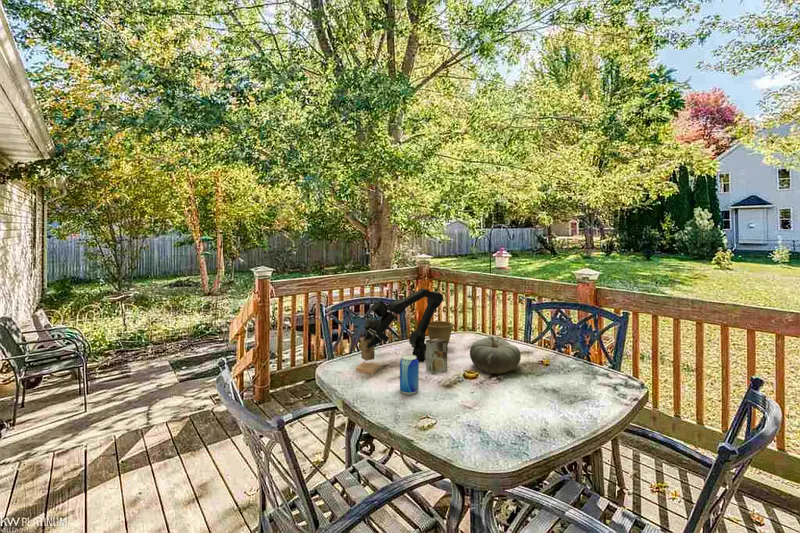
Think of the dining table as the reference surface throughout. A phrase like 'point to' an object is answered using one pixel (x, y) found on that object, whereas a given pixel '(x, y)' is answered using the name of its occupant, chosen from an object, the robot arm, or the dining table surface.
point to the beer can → (409, 374)
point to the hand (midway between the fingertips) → (365, 346)
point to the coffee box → (436, 355)
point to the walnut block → (367, 350)
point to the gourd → (495, 355)
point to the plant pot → (440, 330)
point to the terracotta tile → (367, 367)
